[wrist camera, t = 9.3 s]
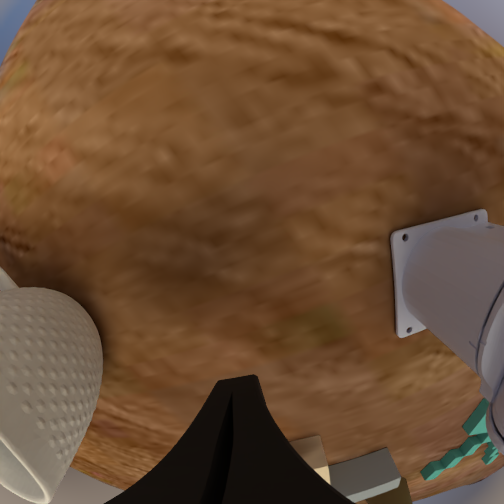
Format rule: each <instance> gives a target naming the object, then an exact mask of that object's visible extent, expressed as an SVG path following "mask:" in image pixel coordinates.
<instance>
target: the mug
mask: <svg viewBox="0 0 504 504" xmlns="http://www.w3.org/2000/svg"><path fill="white" fill-rule="evenodd" d="M0 290H1V291H0V484H1V485H2V486H4V487H5V488H7V489H8V490H10V491H11V492H13V493H15V494H17V495H18V496H20V497H22V498H24V499H26V500H29V501H31V502H33V503H37V504H47V503H49V502H50V501H51V500H52V498H53V496H54V494H55V492H56V490H57V488H58V486H59V484H60V482H61V480H62V478H63V477H64V476H65V473H66V471H67V469H68V468H69V466H70V463H71V462H72V460H73V457H74V456H75V453H76V452H77V450H78V447H79V446H80V443H81V441H82V439H83V437H84V436H85V432H86V431H87V427H88V426H89V425H90V421H91V420H92V415H93V412H94V410H95V408H96V404H97V399H98V397H99V396H98V395H99V390H100V385H101V381H102V378H101V377H102V374H103V354H102V345H101V340H100V336H99V333H98V330H97V328H96V326H95V324H94V322H93V320H92V319H91V317H90V316H89V314H88V313H87V312H86V311H85V309H84V308H83V307H82V306H81V305H80V304H79V303H78V302H76V301H75V300H74V299H72V298H71V297H69V296H68V295H66V294H64V293H61V292H58V291H55V290H51V289H46V288H37V287H30V288H27V287H22V288H19V287H18V286H17V285H16V284H15V282H14V281H13V280H12V279H11V278H10V277H9V275H8V274H7V273H6V272H5V271H4V270H3V269H2V268H1V267H0Z"/></svg>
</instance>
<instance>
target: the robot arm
mask: <svg viewBox="0 0 504 504" xmlns="http://www.w3.org/2000/svg"><path fill="white" fill-rule="evenodd" d="M474 216H475V220H474ZM404 234H405V235H406V238H405V240H403V239H402V236H403V235H404ZM390 241H391V250H392V260H393V272H394V287H395V308H396V334H397V335H398V336H399V337H400V338H404V337H406V336H409V335H411V334H414V333H417V332H419V331H422V330H424V329H429V330H430V331H431V332H432V333H433V334H434V335H435V336H436V337H437V338H439V339H440V340H441V341H442V342H443V343H444V344H445V345H446V346H447V347H448V348H450V349H451V350H452V351H453V352H454V353H455V354H456V355H457V356H458V357H459V358H460V359H461V360H462V361H464V362H465V363H466V364H467V365H468V366H469V367H470V368H471V369H472V370H473V371H474V372H475V373H476V374H477V375H478V376H479V377H480V378H481V387H480V390H479V392H480V393H481V394H482V395H483V396H484V397H485V398H486V399H487V400H488V402H489V406H488V408H487V412H486V429H487V433H488V435H489V438H490V440H491V441H492V443H493V445H494V446H495V447H496V448H497V449H498V451H499V452H501V453H502V454H503V455H504V226H501V225H497V224H493V223H489V222H488V217H487V212H486V210H485V209H479V210H475V211H471V212H467V213H464V214H460V215H456V216H452V217H448V218H444V219H440V220H437V221H433V222H429V223H425V224H421V225H417V226H413V227H409V228H405V229H401V230H397V231H395V232H393V233H392V235H391V238H390ZM409 327H410V328H409ZM408 328H409V330H407V329H408ZM104 504H355V503H354V502H352V501H351V500H350V499H348V498H347V497H345V496H344V495H343V494H341V493H340V492H339V491H337V490H336V489H335V488H334V487H332V486H331V485H330V484H329V483H328V482H326V481H325V480H324V479H323V478H322V477H321V476H320V475H319V474H318V473H317V472H316V471H315V470H314V469H313V468H311V467H310V466H309V465H308V464H307V463H306V462H305V460H304V459H303V458H302V457H301V456H300V455H299V454H298V453H297V451H296V450H295V449H294V448H293V447H292V445H291V444H290V443H289V441H288V440H287V439H286V437H285V436H284V435H283V433H282V432H281V430H280V429H279V427H278V426H277V424H276V423H275V421H274V419H273V418H272V416H271V414H270V412H269V410H268V408H267V406H266V402H265V399H264V396H263V393H262V389H261V386H260V383H259V379H258V376H256V375H254V374H253V375H248V376H242V377H237V378H231V379H225V380H219V381H218V382H217V383H216V385H215V386H214V388H213V390H212V391H211V393H210V395H209V397H208V398H207V400H206V402H205V403H204V405H203V407H202V408H201V410H200V411H199V413H198V414H197V416H196V418H195V419H194V421H193V422H192V424H191V425H190V426H189V428H188V429H187V430H186V432H185V433H184V434H183V436H182V437H181V438H180V440H179V441H178V442H177V444H176V445H175V446H174V447H173V448H172V449H171V451H170V452H169V453H168V454H167V455H166V456H165V457H164V458H163V459H162V460H161V461H160V462H159V463H158V464H157V465H156V466H155V467H154V468H153V469H152V470H151V471H149V472H148V473H147V474H146V475H145V476H144V477H142V478H141V479H140V480H139V481H137V482H136V483H135V484H134V485H132V486H131V487H129V488H128V489H127V490H125V491H124V492H122V493H121V494H119V495H118V496H116V497H114V498H113V499H111V500H109V501H107V502H106V503H104Z"/></svg>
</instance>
